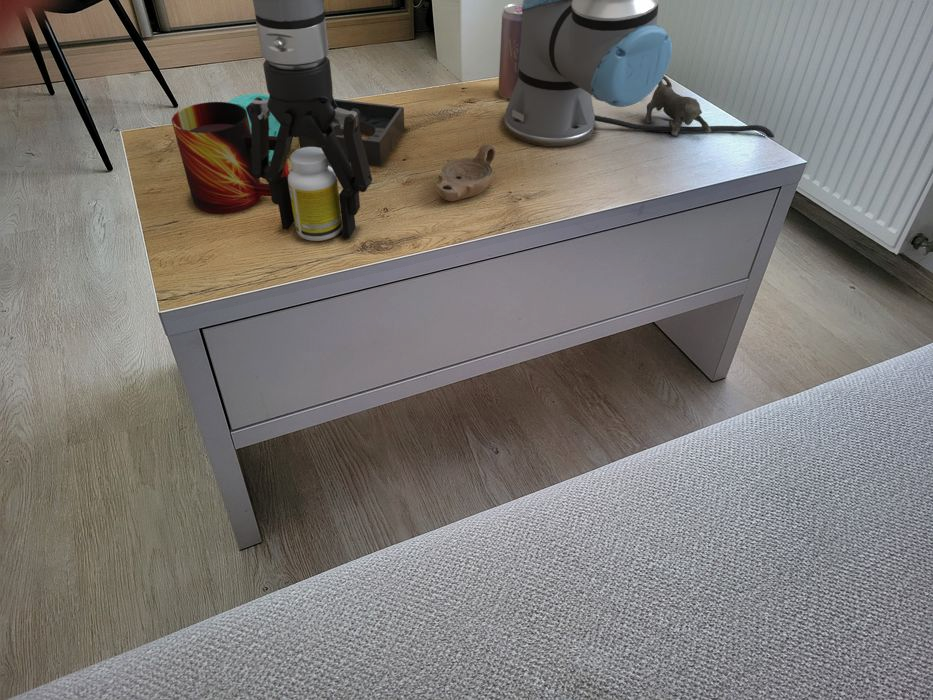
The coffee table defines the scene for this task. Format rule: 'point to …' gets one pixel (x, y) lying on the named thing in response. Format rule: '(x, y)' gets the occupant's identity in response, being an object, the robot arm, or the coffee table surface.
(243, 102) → the decorative dice
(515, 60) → the beverage can
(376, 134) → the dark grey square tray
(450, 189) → the oil lamp
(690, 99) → the dog figurine
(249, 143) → the mug
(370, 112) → the dark grey storage tray
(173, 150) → the coffee table surface
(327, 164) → the pill bottle
